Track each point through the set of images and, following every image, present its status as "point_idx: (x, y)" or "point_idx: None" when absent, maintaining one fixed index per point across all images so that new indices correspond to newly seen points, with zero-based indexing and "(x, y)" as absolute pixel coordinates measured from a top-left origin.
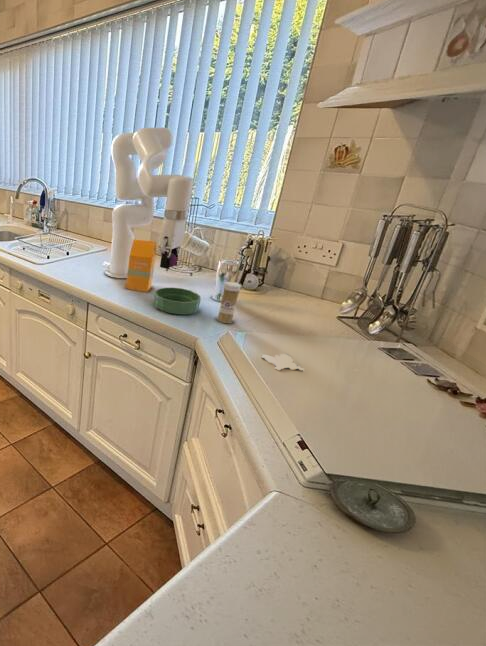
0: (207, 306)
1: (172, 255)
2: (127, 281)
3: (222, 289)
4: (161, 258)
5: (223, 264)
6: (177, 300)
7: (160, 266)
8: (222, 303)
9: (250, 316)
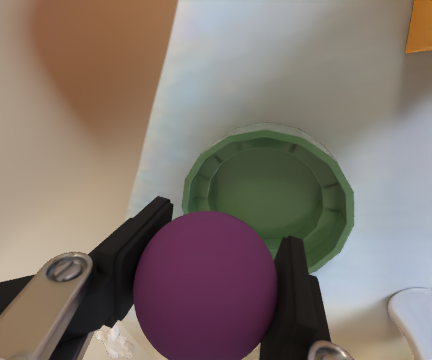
0: (321, 270)
1: (162, 353)
2: None
3: (412, 344)
4: (114, 238)
5: None
6: (319, 194)
7: (156, 200)
8: None
9: None
